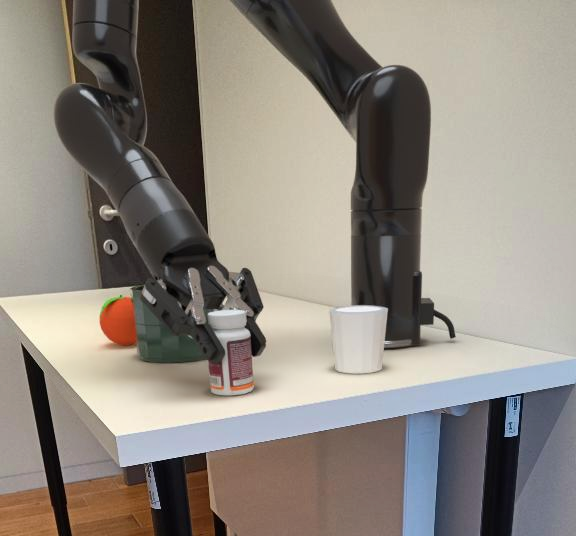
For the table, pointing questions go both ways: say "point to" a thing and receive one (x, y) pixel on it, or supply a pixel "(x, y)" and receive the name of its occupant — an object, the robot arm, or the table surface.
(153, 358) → the pot
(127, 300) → the clementine
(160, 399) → the table surface
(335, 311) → the shot glass
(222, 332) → the pill bottle
